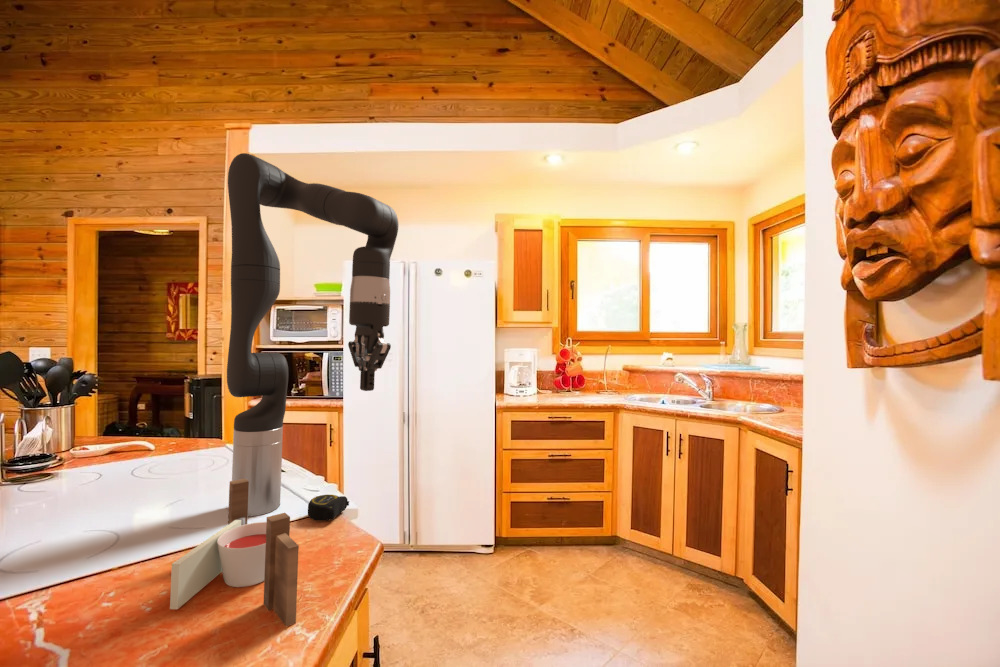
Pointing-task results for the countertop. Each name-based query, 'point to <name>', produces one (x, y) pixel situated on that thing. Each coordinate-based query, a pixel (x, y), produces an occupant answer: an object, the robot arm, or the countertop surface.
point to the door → (197, 568)
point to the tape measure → (326, 507)
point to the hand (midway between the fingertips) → (367, 390)
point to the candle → (243, 554)
